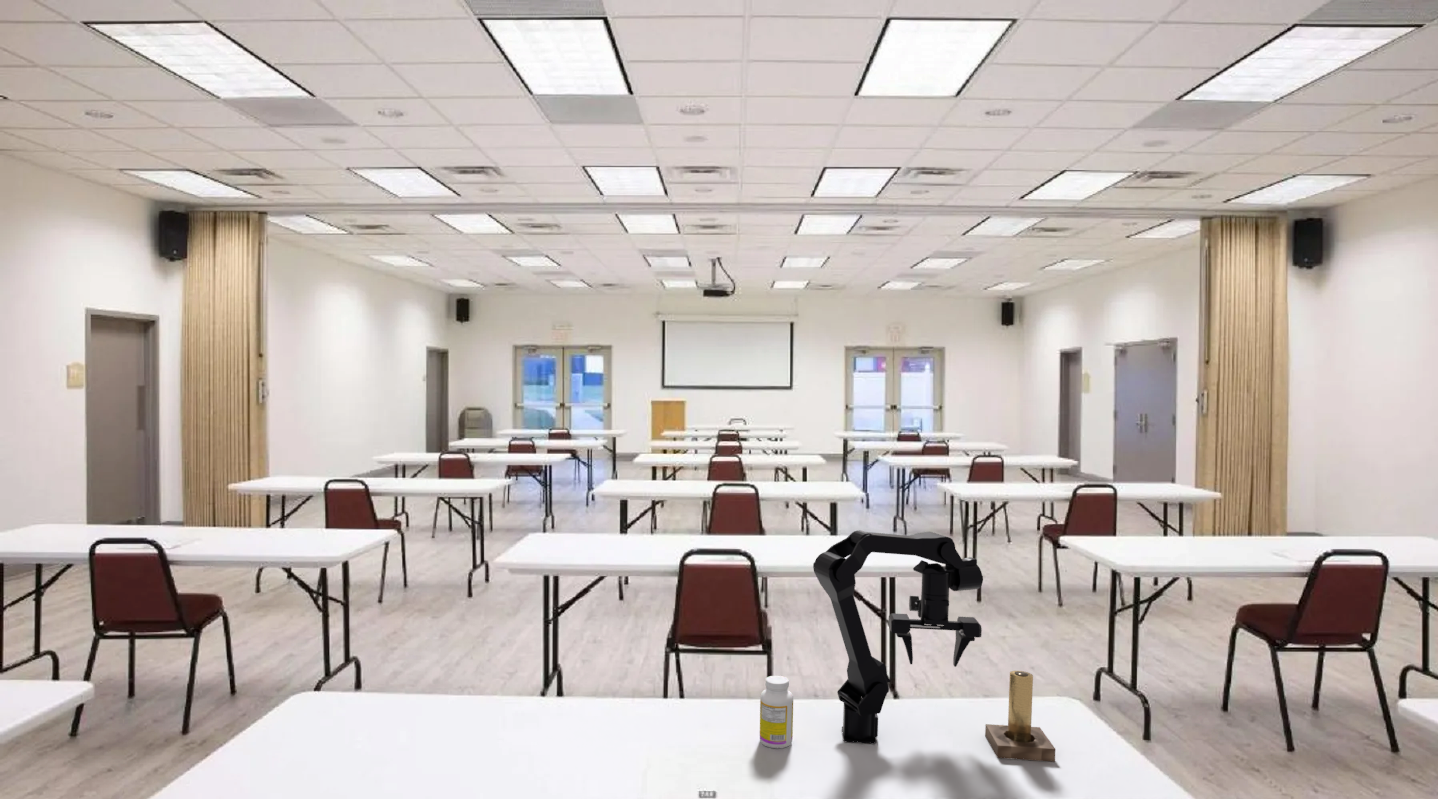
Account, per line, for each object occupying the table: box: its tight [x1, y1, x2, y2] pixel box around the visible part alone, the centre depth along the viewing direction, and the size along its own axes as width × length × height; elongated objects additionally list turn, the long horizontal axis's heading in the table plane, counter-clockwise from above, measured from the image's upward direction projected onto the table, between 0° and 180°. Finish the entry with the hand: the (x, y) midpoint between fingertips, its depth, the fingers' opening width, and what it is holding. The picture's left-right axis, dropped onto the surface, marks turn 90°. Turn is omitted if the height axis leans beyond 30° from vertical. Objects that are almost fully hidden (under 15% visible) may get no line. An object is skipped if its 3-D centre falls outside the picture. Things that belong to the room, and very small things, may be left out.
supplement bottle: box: [759, 675, 794, 749], centre depth 167 cm, size 7×7×13 cm
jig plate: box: [984, 723, 1056, 763], centre depth 167 cm, size 11×10×2 cm
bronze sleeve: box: [1007, 670, 1034, 743], centre depth 167 cm, size 4×4×15 cm
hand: (932, 664), depth 177 cm, fingers open, 9 cm apart
